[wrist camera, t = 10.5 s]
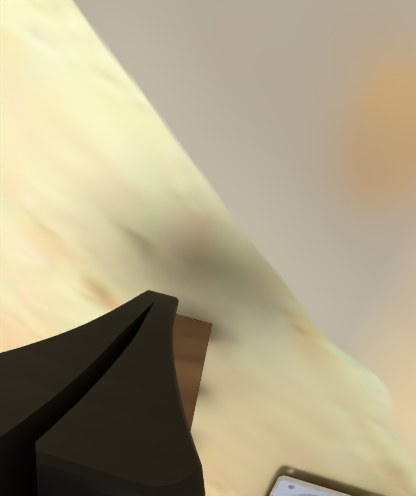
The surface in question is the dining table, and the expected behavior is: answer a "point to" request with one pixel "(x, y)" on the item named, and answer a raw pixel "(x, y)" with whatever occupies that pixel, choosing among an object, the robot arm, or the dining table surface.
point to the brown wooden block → (189, 359)
